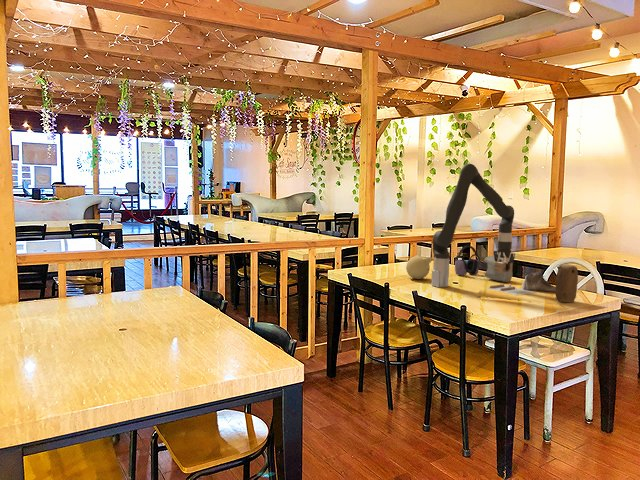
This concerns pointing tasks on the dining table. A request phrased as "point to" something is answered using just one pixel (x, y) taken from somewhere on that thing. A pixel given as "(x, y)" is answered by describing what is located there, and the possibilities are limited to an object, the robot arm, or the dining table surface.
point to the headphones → (467, 264)
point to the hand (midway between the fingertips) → (503, 269)
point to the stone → (566, 283)
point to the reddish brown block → (502, 267)
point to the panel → (509, 289)
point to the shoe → (537, 283)
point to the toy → (418, 267)
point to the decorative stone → (494, 274)
